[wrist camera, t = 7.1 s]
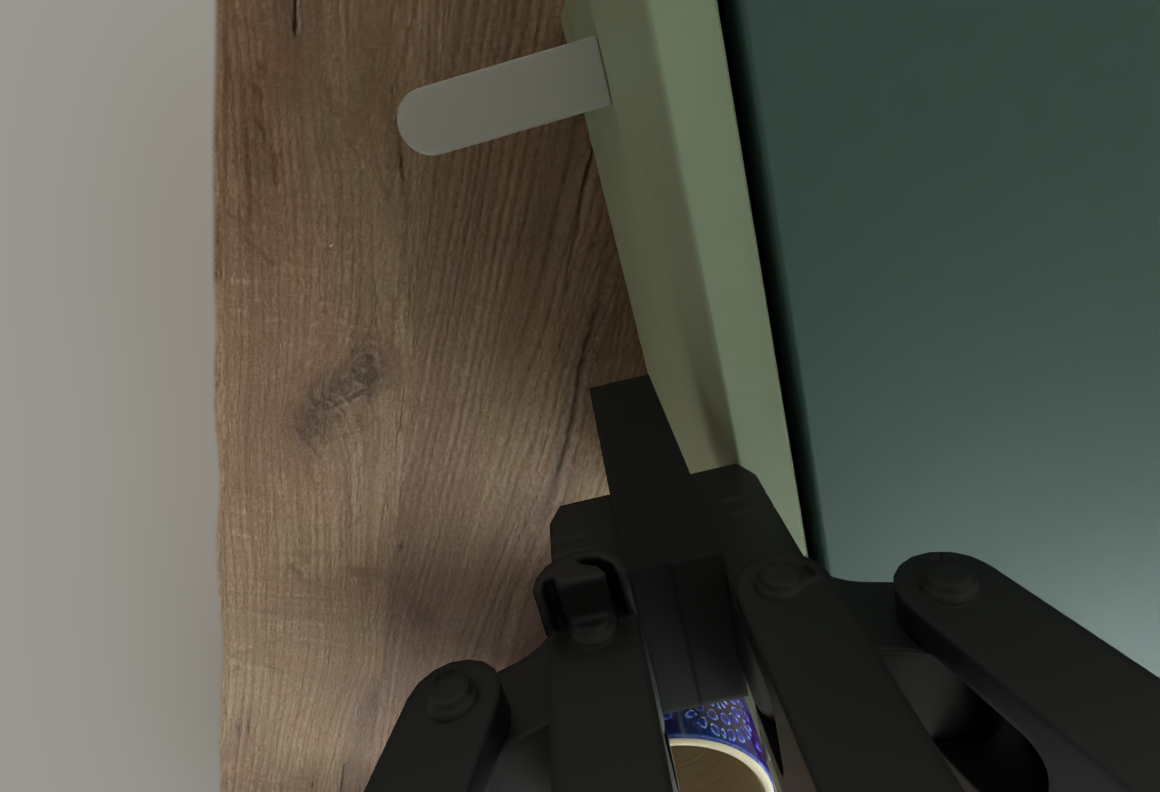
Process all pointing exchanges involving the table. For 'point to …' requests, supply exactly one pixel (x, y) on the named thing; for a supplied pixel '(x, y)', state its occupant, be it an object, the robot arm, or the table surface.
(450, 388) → the table surface
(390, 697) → the table surface
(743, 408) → the cupboard door
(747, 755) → the planter
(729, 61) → the cupboard
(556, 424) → the table surface
